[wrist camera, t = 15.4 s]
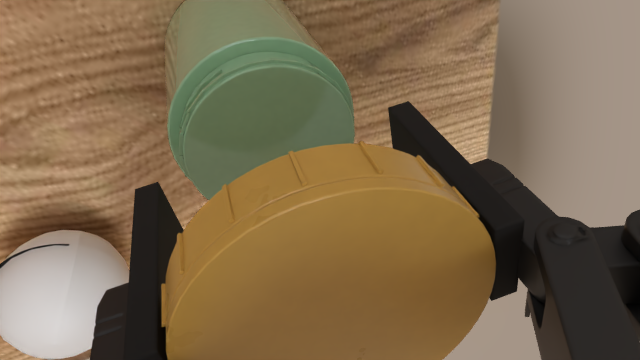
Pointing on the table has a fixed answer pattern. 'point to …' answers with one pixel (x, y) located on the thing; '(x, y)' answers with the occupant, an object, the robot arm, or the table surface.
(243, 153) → the jar
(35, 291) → the seamed sphere
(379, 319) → the lid
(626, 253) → the robot arm
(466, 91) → the table surface
